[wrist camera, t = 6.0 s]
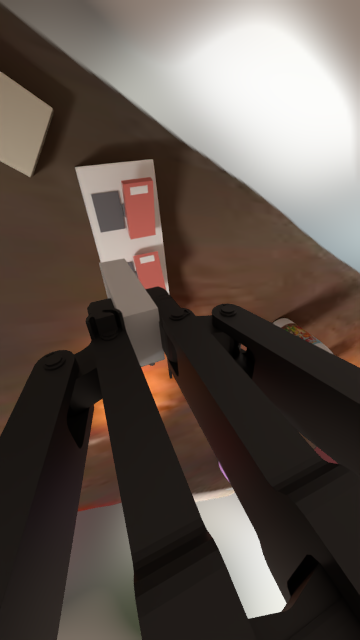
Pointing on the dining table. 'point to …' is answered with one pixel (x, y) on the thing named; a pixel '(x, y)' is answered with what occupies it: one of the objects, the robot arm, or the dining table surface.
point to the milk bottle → (299, 332)
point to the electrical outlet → (22, 126)
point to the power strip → (118, 211)
